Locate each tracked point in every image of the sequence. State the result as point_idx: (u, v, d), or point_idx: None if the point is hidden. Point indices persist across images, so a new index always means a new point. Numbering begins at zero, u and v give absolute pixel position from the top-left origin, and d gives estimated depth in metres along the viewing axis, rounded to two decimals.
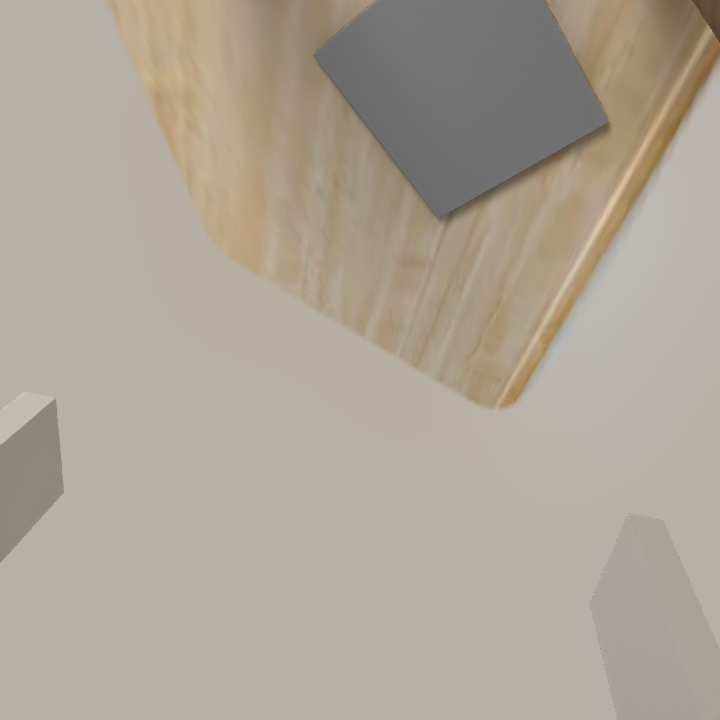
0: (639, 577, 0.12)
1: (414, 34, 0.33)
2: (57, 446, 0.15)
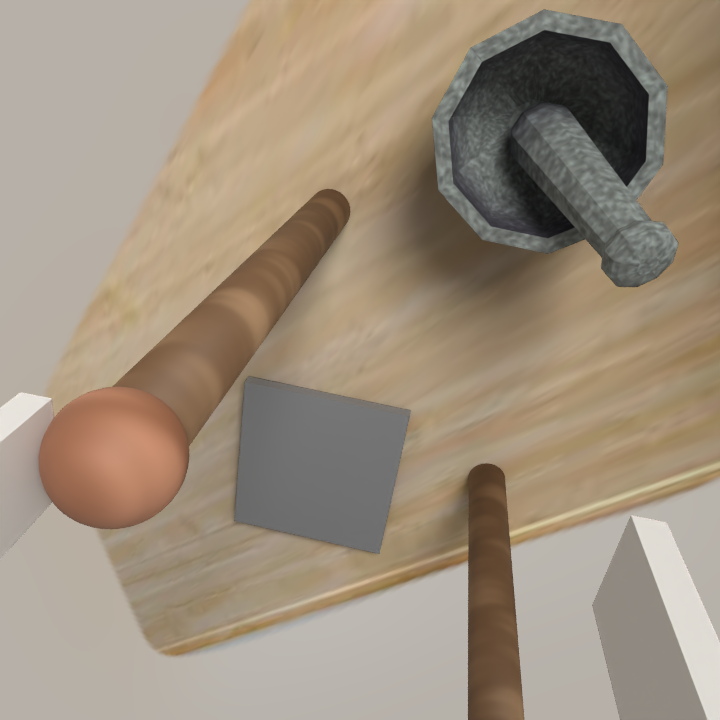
0: (642, 579, 0.12)
1: (315, 427, 0.42)
2: None
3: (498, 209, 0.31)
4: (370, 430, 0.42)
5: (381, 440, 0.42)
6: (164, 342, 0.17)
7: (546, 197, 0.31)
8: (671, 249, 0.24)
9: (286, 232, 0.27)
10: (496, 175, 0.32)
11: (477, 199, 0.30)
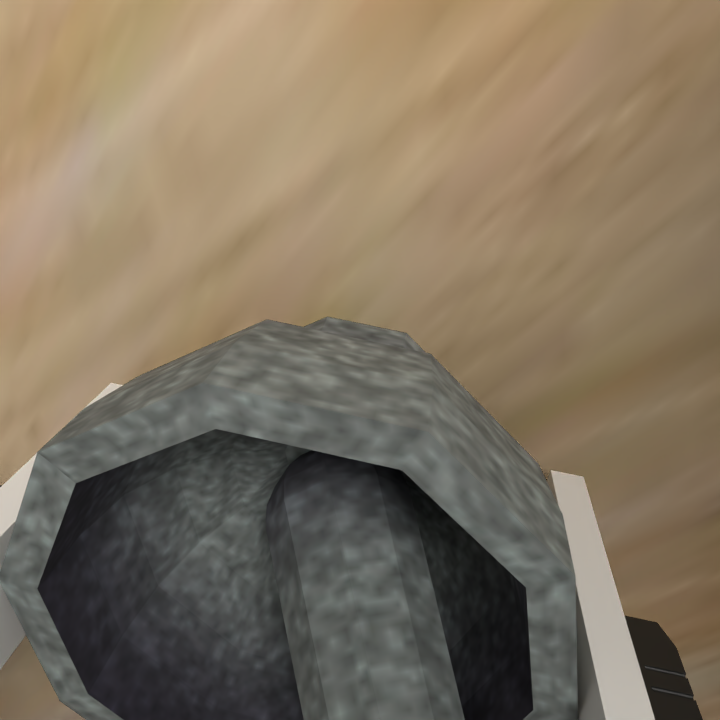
0: None
1: None
2: None
3: (254, 651, 0.15)
4: None
5: None
6: None
7: None
8: None
9: None
10: (264, 555, 0.15)
11: (194, 655, 0.14)
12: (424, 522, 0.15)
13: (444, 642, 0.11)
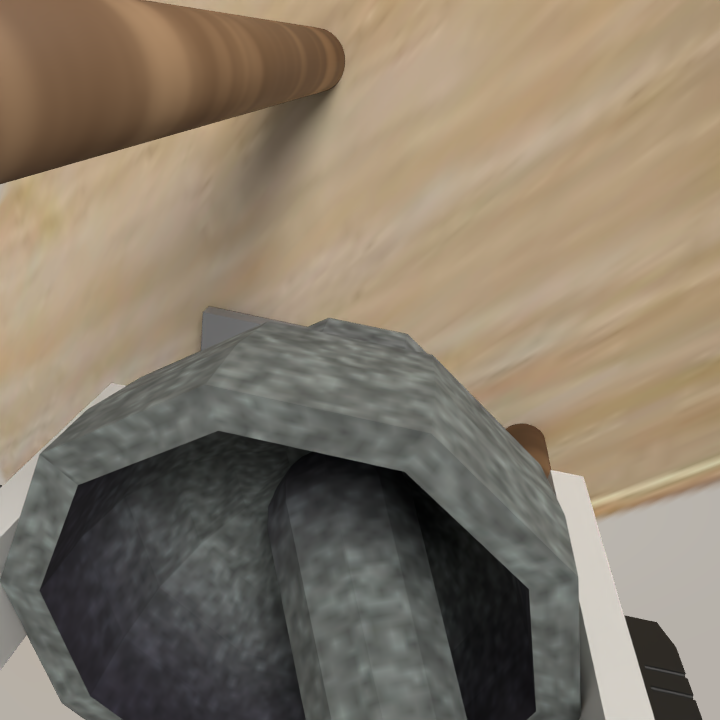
0: None
1: None
2: None
3: (256, 653, 0.14)
4: None
5: None
6: None
7: None
8: None
9: None
10: (265, 557, 0.15)
11: (196, 656, 0.14)
12: (426, 523, 0.15)
13: (446, 643, 0.11)
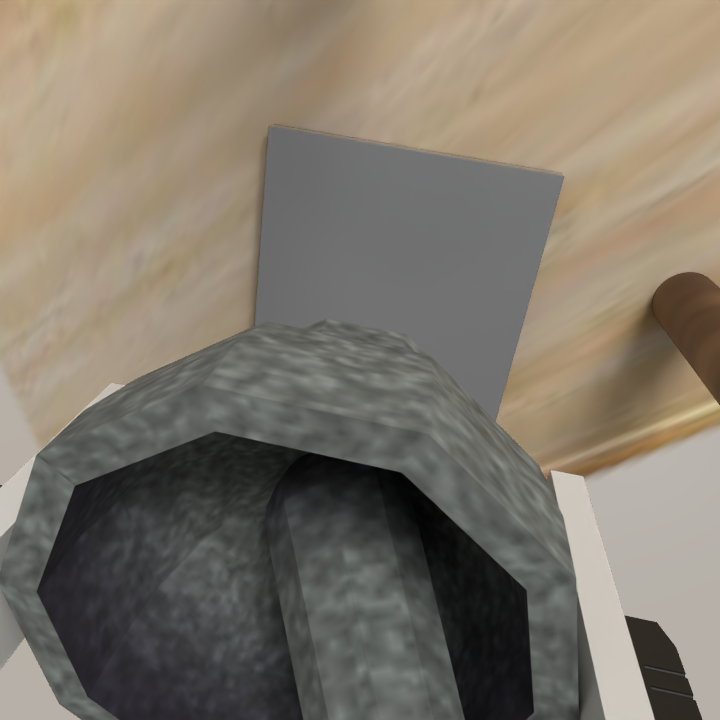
0: None
1: (392, 212, 0.24)
2: None
3: (254, 654, 0.14)
4: (490, 209, 0.24)
5: (508, 230, 0.24)
6: None
7: None
8: None
9: None
10: (264, 557, 0.15)
11: (194, 657, 0.14)
12: (424, 523, 0.15)
13: (444, 644, 0.11)
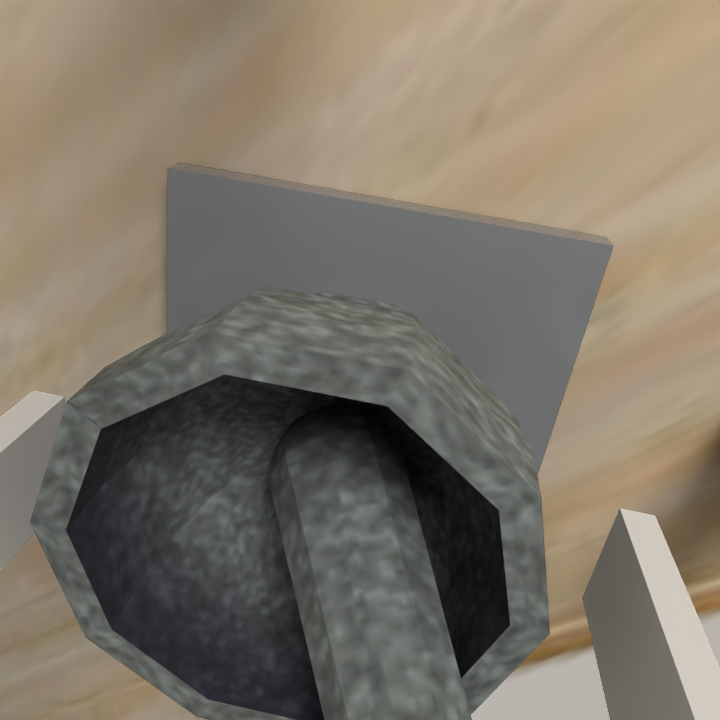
0: (630, 571, 0.12)
1: (354, 293, 0.16)
2: None
3: (260, 599, 0.16)
4: (500, 291, 0.16)
5: (527, 320, 0.16)
6: None
7: None
8: None
9: None
10: (267, 513, 0.17)
11: (206, 601, 0.15)
12: (414, 477, 0.16)
13: (431, 574, 0.13)
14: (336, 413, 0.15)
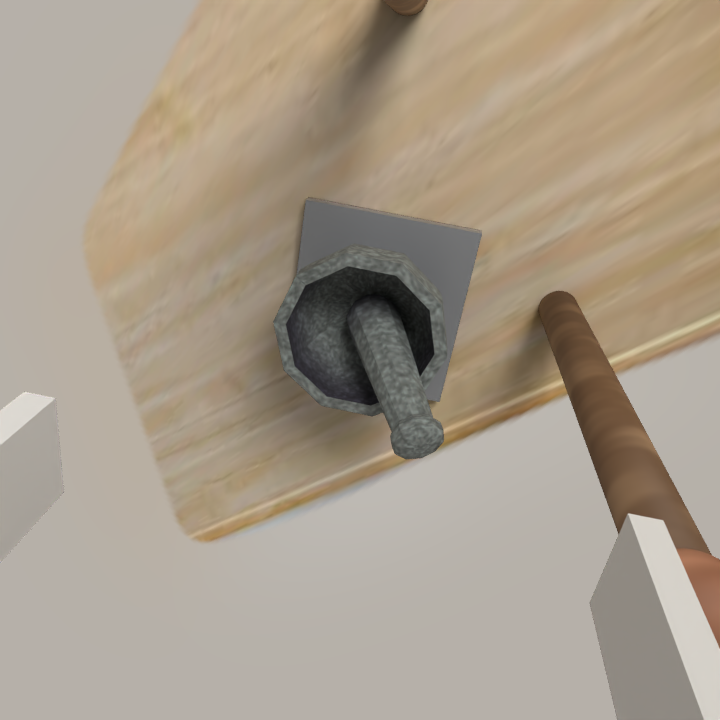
0: (639, 577, 0.12)
1: None
2: (57, 446, 0.15)
3: (340, 373, 0.39)
4: (438, 251, 0.39)
5: (449, 264, 0.40)
6: None
7: None
8: (437, 436, 0.32)
9: None
10: (342, 343, 0.40)
11: (321, 369, 0.38)
12: None
13: (409, 346, 0.36)
14: (374, 295, 0.38)
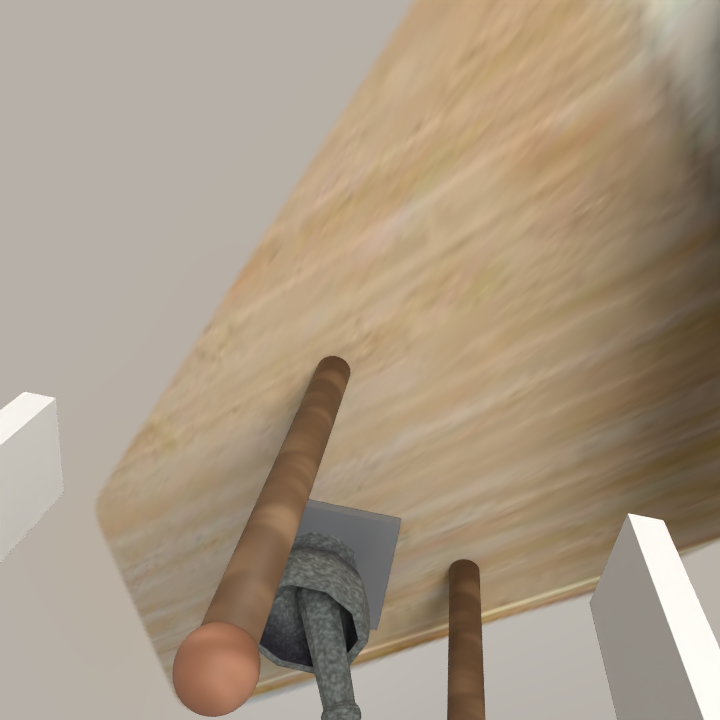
0: (639, 577, 0.12)
1: (323, 532, 0.51)
2: (58, 445, 0.15)
3: (293, 630, 0.51)
4: (368, 534, 0.51)
5: (377, 542, 0.51)
6: (235, 570, 0.27)
7: None
8: None
9: (304, 425, 0.37)
10: (295, 602, 0.52)
11: (277, 631, 0.50)
12: None
13: (341, 625, 0.48)
14: None
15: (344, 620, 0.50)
